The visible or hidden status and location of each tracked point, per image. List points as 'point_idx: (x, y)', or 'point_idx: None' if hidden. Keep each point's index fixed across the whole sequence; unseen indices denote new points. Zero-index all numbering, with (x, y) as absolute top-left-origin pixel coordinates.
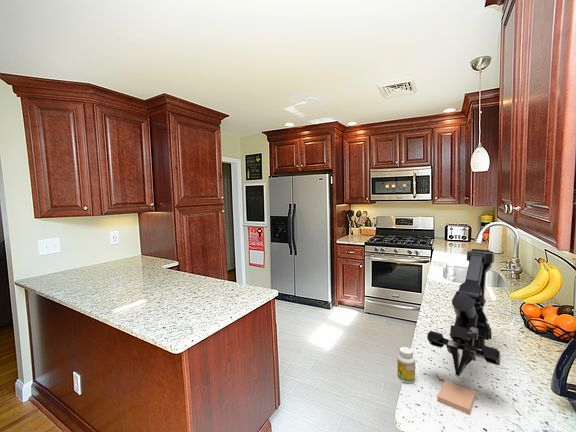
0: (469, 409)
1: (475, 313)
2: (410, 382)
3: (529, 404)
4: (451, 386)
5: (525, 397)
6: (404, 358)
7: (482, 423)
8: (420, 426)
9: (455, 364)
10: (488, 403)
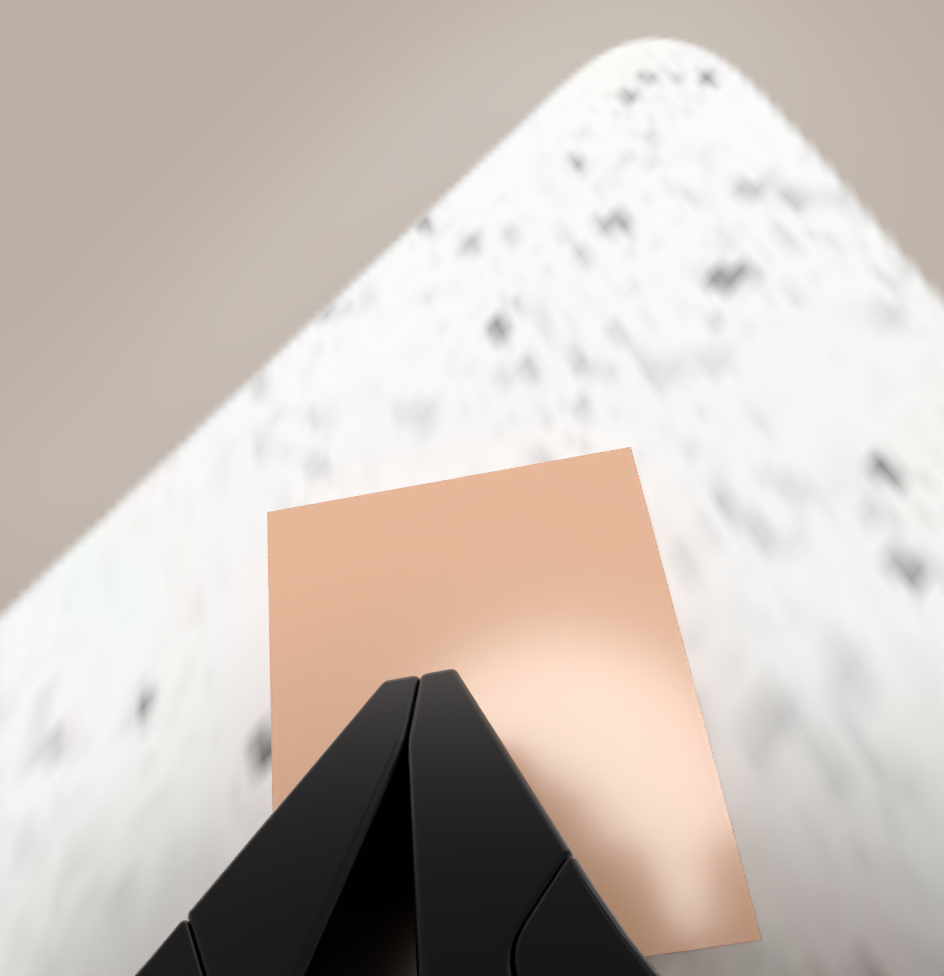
0: (267, 513)
1: None
2: None
3: None
4: (605, 832)
5: None
6: None
7: (169, 514)
8: (555, 103)
9: (483, 793)
10: (143, 963)
